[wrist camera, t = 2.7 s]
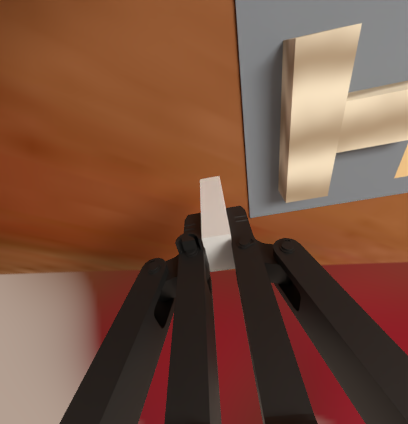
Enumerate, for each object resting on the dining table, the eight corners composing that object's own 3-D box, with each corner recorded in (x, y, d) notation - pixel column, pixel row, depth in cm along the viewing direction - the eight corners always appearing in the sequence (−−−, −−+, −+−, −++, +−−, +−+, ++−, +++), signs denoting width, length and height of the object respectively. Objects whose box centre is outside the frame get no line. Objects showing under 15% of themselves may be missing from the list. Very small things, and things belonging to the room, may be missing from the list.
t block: (283, 40, 19) (295, 38, 17) (463, -1, 18) (505, -10, 15) (278, 190, 28) (285, 202, 26) (395, 170, 27) (415, 181, 25)
